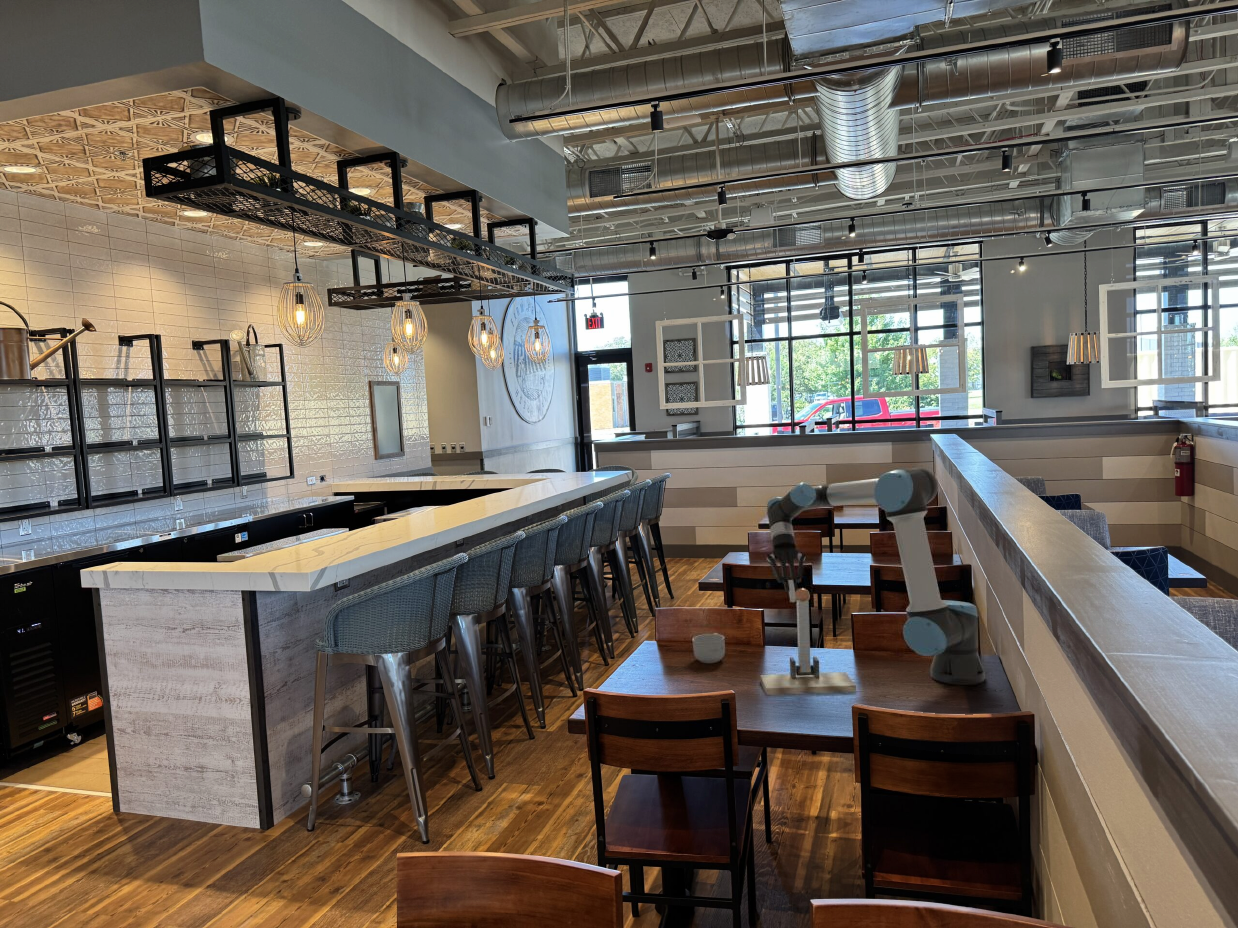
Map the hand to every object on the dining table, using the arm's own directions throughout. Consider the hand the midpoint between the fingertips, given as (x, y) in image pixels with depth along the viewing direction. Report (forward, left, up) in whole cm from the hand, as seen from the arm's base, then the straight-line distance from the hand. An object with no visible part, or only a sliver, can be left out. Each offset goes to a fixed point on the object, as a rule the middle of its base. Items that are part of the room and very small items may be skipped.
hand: (793, 599), depth 255 cm
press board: (-1, +14, -23) cm, 27 cm away
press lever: (-1, +11, -21) cm, 23 cm away
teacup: (+25, -16, -23) cm, 38 cm away
